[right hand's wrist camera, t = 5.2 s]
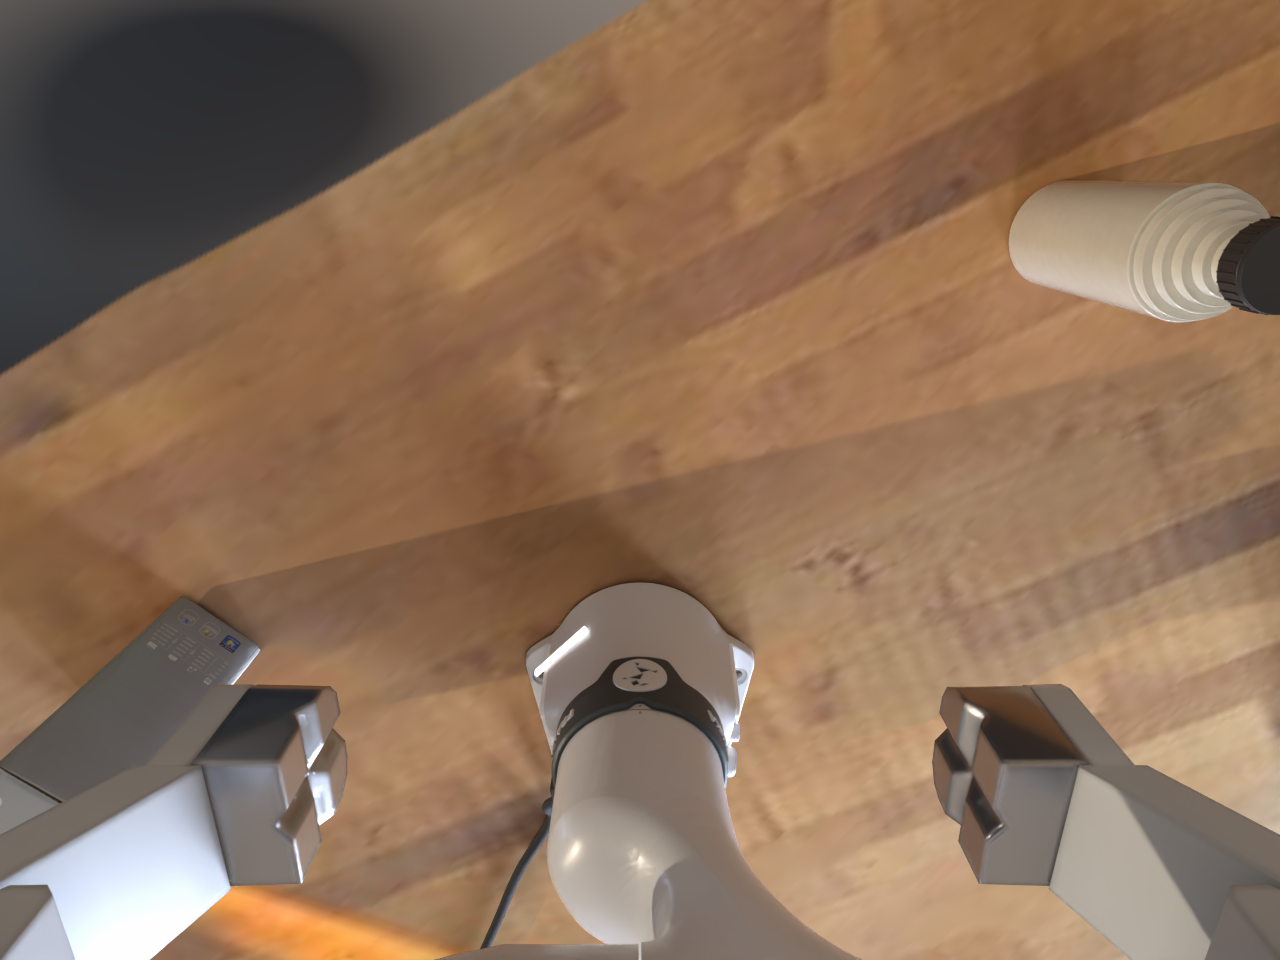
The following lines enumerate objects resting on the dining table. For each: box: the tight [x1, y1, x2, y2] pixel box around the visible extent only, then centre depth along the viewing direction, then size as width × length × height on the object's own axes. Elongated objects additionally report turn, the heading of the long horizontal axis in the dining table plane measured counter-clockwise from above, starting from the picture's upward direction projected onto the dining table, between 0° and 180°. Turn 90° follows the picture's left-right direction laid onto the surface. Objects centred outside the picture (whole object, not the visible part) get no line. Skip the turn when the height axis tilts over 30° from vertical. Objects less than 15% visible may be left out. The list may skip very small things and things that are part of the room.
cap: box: [1216, 216, 1280, 315], centre depth 36 cm, size 4×4×2 cm
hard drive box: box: [0, 597, 260, 835], centre depth 58 cm, size 16×8×20 cm, turn 138°
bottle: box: [1009, 180, 1270, 322], centre depth 45 cm, size 7×7×20 cm
